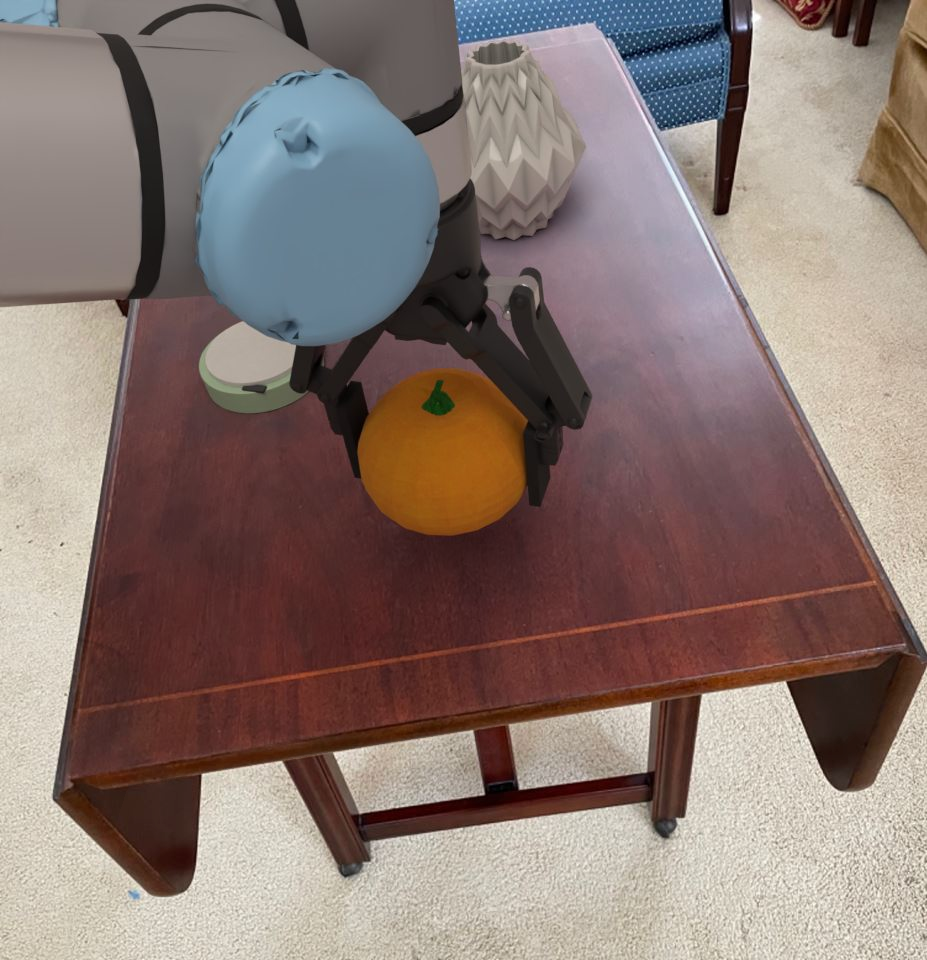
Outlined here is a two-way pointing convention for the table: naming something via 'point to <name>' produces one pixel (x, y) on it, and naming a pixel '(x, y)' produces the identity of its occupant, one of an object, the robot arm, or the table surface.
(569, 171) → the vase
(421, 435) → the fruit
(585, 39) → the table surface
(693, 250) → the table surface
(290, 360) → the scale
